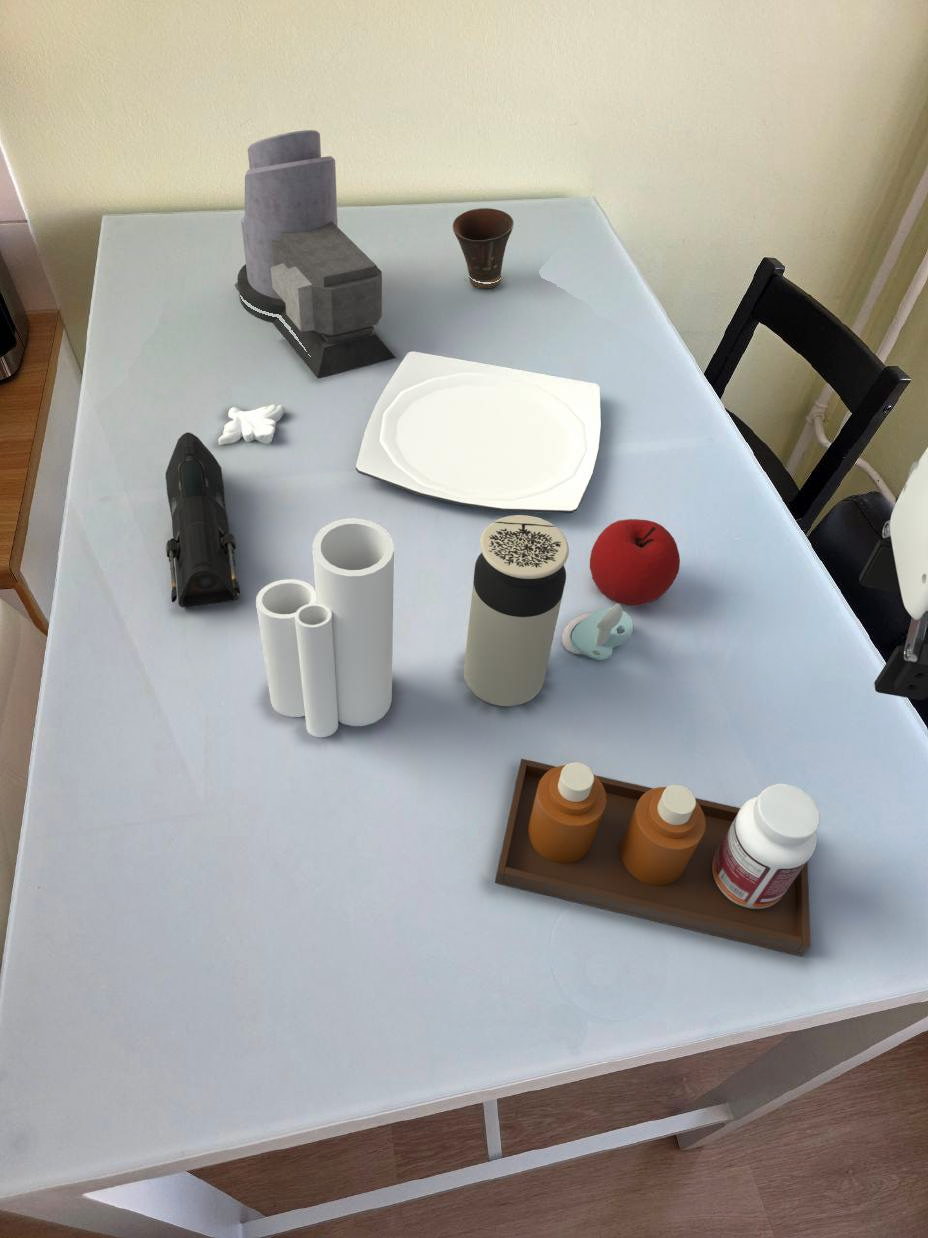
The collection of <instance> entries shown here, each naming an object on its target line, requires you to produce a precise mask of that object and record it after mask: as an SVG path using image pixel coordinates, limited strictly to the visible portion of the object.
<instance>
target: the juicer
mask: <svg viewBox="0 0 928 1238" xmlns="http://www.w3.org/2000/svg"><path fill="white" fill-rule="evenodd" d="M247 158H248V167H249V169H247V170H246V173H245V175H244V216H243V217H242V219H241V220H240V223H241V224H240V225H241V232H242V241H243V251H244V260H245V264H244V265H243V266H241V268H240V269H239V271H238V274H237V279H236V280H237V281H236V283H235V284H234V288H235V289H236V290H237V291H238V295H239V300H240V304H241V306H242V307H243V309H244V310H245V311H247V313H249V314H250V315H252V316H253V317H255V318H257V319H259V320H262V321H265V322H269V323H272V324H273V326H274V327H275V328H276V329H277V331H278V332H279V333H280V334H281V336H283V338H284V339H285V341H287V343H288V344H289V346H291V348H292V349H293V350H294V351H295V353H296V354H297V355H298V356H299V357H300V359H301V360H302V361H303V362H304V364H305V365H306V366H307V367H308V368H309V370H310V371H311V373H313V374H314V376H315V377H316V378H317V379H320V378H325V377H328V376H332V375H336V374H339V373H343V372H347V371H351V370H355V369H358V368H359V369H360V368H362V367H366V366H370V365H373V364H377V363H381V362H385V361H388V360H392V359H396V358H397V357H396V356H395V355H394V353H393V352H392V351H391V349H390V348H388V347H387V345H386V344H385V343H384V342H383V341H382V339H380V337H379V336H378V335H377V334H376V333H375V331H374V330H375V327H374V326H377V325H378V324H379V321H380V320H381V318H382V316H383V271H382V269H380V268H379V267H378V265H377V264H376V263H375V262H374V261H373V260H372V259H371V258H370V257H369V256H368V255H367V254H366V253H365V252H364V251H363V250H362V249H361V248H360V247H358V245H357V244H356V243H355V242H353V241H352V240H351V238H349V236H348V235H346V234H345V233H344V232H343V231H342V230H341V229H340V227H339V226H338V225H339V224H338V201H337V200H338V199H337V197H338V196H337V170H336V159H335V158H334V157H333V156H332V155H329V156H322V149H321V133H320V132H319V131H318V130H315V129H307V130H306V129H303V130H297V131H291V132H290V131H289V132H285V133H281V134H277V135H273V136H269V137H266V138H263V139H260V140H257V141H255V142H253V143H251V144H250V145H249V146H248V148H247ZM239 293H240V294H239ZM240 295H241V296H242V297H243V299H244V300H246V301H247V302H248V303H250V304H251V305H252V306H254V307H256V308H258V309H260V310H262V311H266V312H269V313H273V314H279V315H281V316H282V318H283V319H284V320H285V322H286V323H287V324H288V325H289V326H290V327H291V330H293V332H294V333H295V334H296V336H297V337H298V339H299V341H300V342H301V343H302V345H303V346H304V347H305V349H306V351H307V352H306V351H305V350H304V348H303V347H302V346H301V345H300V344H299V342H298V341H297V340H296V339H295V338H294V336H293V335H292V334H291V333H290V332H289V330H288V329H287V328H286V327H285V326H284V324H283V323H282V322H281V321H280V320H279V318H277V317H272V316H268V315H265V314H262V313H259V312H257V311H255V310H253V309H251V308H250V307H248V306H247V305H246V304H245V303H244V302H243V301H242V299H241V297H240ZM308 354H309V355H310V356H311V357H310V356H309V355H308Z"/></svg>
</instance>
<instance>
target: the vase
mask: <svg viewBox="0 0 928 1238" xmlns="http://www.w3.org/2000/svg"><path fill="white" fill-rule="evenodd" d="M394 547H395V546H394V539H393V537H392V536H391V534H390V533H389V531H388V530H386V529H385V528H384V527H383V526H382V525H380V524H378V523H376V522H374V521H372V520H369V519H364V518H357V517H353V518H352V517H351V518H350V517H349V518H342V519H338V520H335V521H332V522H330V523H329V524H327V525H325V526H323V527H322V528H320V530H319V531H318V532H317V533H316V534H315V537H314V539H313V541H312V562H313V574H314V586H312V585H311V584H310V583H308V582H306V581H303V580H300V579H293V578H290V579H279V580H276V581H273V582H271V583H269V584H267V585H265V586H263V588H261V589H260V590H259V592H258V593H257V594H256V597H255V606H256V613H257V620H258V627H259V632H260V639H261V645H262V653H263V658H264V660H263V661H264V666H265V673H266V679H267V685H268V693H269V698H270V703H271V706H272V709H274V710H275V712H277V713H278V714H280V715H281V716H284V717H288V718H290V717H291V718H301V717H304V718H305V727H306V731H307V732H308V734H309V735H311V736H312V737H315V738H327V737H330V736H332V735H334V734H335V733H336V731H337V730H338V729H339V722H340V723H341V724H342V725H346V726H350V727H365V726H369V725H372V724H375V723H377V722H378V721H380V720H381V719H382V718H384V717H385V715H387V713H388V712H389V710H390V707H391V704H392V701H393V653H394V652H393V651H394V650H393V647H394V646H393V644H394V638H393V637H394V578H395V577H394V575H395V573H394V572H395V548H394ZM314 587H315V588H314Z"/></svg>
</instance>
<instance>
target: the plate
mask: <svg viewBox="0 0 928 1238" xmlns="http://www.w3.org/2000/svg"><path fill="white" fill-rule="evenodd" d="M601 416H602V415H601V387H600V386H599V384H597V383H594V382H589V381H583V380H577V379H572V378H567V377H560V376H555V375H549V374H545V373H540V372H539V373H538V372H533V371H529V370H523V369H516V368H513V367H512V368H511V367H505V366H501V365H500V366H499V365H495V364H488V363H482V362H476V361H471V360H465V359H461V358H460V359H459V358H453V357H449V356H443V355H442V356H441V355H437V354H430V353H425V352H418V351H413V350H412V351H409V352H407V353H406V354H405V357H404V358H403V359H402V360H401V362H400V364H399V366H398V367H397V368H396V370H395V372H394V373H393V375H391V377H390V380H389V381H388V382H387V384H386V386H385V387H384V389H383V391H382V392H381V395H380V396H379V397H378V400H377V402H376V404H375V405H374V407H373V410H372V413H371V415H370V417H369V419H368V422H367V424H366V427H365V430H364V433H363V436H362V439H361V444H360V448H359V451H358V456H357V460H356V464H355V468H354V470H355V471H356V472H357V473H358V474H360V475H363V476H366V477H368V478H371V479H374V480H377V481H379V482H382V483H384V484H388V485H391V486H394V487H396V488H399V489H402V490H405V491H408V492H410V493H412V494H414V495H415V494H416V495H418V496H421V497H425V498H430V499H435V500H439V501H443V502H447V503H451V504H455V505H460V506H465V507H472V508H479V509H485V510H486V509H487V510H494V511H499V512H513V513H514V512H520V513H545V514H546V513H547V514H548V513H549V514H573V513H575V512H577V511H578V509H579V507H580V504H581V502H582V500H583V497H584V495H585V493H586V491H587V488H588V486H589V483H590V482H591V479H592V476H593V474H594V473H593V472H594V469H595V465H596V463H597V457H598V454H599V447H600V438H601V437H600V436H601V427H602V422H601V420H602V419H601Z"/></svg>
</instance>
